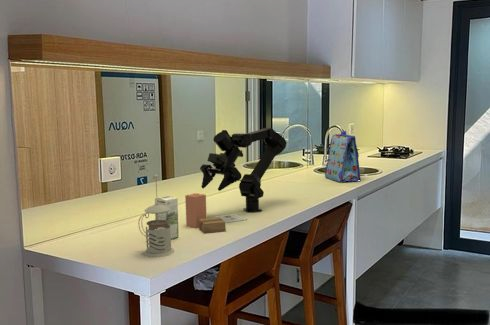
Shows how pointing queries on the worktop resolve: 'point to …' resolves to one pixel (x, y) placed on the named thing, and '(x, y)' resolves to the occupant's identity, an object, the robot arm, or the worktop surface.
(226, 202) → the worktop surface
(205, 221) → the base brick
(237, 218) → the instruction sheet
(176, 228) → the syrup box
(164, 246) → the french press
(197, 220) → the tall brick
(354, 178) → the lunch bag
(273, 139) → the robot arm
